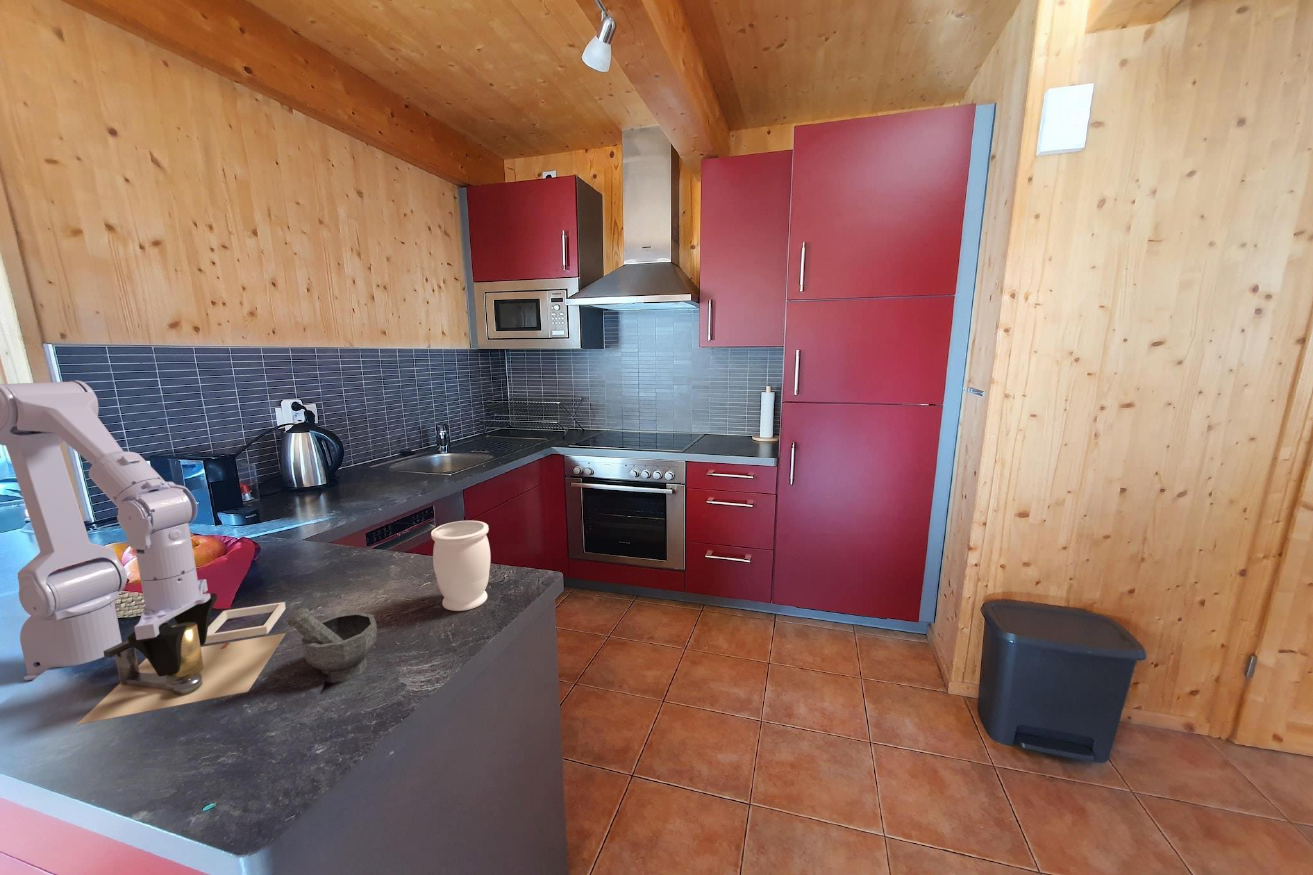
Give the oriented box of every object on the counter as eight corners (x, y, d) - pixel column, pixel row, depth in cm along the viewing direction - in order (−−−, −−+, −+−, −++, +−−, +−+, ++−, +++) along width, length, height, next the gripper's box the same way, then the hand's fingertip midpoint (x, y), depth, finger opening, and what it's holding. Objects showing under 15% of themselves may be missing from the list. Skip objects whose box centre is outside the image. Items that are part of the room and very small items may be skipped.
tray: (200, 651, 81) (198, 637, 81) (225, 623, 90) (223, 610, 89) (268, 640, 85) (266, 626, 84) (286, 614, 93) (284, 601, 93)
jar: (494, 608, 95) (490, 533, 93) (435, 619, 91) (429, 541, 89) (491, 585, 105) (487, 517, 102) (437, 594, 101) (432, 523, 99)
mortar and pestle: (363, 644, 83) (356, 577, 81) (392, 664, 78) (385, 592, 76) (284, 680, 74) (274, 605, 72) (310, 705, 69) (300, 625, 67)
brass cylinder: (160, 683, 71) (152, 639, 70) (175, 667, 75) (168, 625, 74) (195, 677, 73) (188, 633, 72) (208, 662, 77) (202, 620, 75)
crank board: (77, 733, 64) (75, 724, 63) (150, 662, 78) (149, 654, 78) (248, 699, 70) (247, 690, 70) (286, 639, 85) (285, 632, 85)
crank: (212, 679, 72) (206, 642, 71) (181, 698, 68) (175, 659, 67) (141, 671, 74) (134, 635, 73) (107, 688, 70) (100, 650, 69)
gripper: (176, 589, 66) (192, 681, 68) (225, 550, 80) (237, 628, 82) (107, 598, 64) (125, 694, 66) (169, 556, 77) (183, 637, 79)
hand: (183, 658), depth 74 cm, fingers open, 7 cm apart
